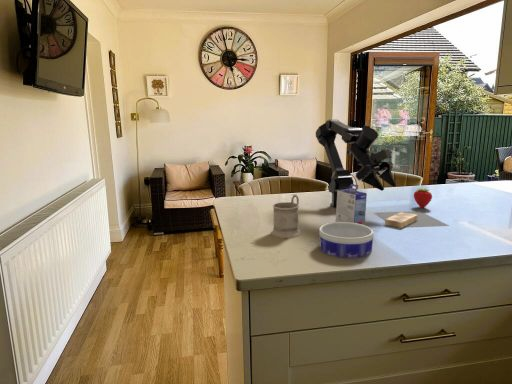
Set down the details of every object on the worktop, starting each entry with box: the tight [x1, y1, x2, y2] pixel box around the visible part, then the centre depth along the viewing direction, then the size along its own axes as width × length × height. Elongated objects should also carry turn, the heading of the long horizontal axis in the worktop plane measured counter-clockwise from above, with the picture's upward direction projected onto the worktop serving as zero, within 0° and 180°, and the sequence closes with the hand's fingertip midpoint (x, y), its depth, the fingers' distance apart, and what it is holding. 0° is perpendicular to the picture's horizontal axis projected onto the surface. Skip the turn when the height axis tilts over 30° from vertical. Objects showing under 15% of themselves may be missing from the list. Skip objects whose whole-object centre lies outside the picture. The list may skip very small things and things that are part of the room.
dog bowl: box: [318, 221, 374, 259], centre depth 105 cm, size 15×15×6 cm
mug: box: [270, 193, 302, 239], centre depth 121 cm, size 14×10×12 cm
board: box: [384, 211, 418, 229], centre depth 128 cm, size 6×2×13 cm
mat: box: [373, 210, 450, 229], centre depth 133 cm, size 19×20×1 cm
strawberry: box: [413, 186, 433, 209], centre depth 147 cm, size 6×8×10 cm
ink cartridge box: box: [335, 183, 368, 226], centre depth 127 cm, size 10×6×14 cm, turn 27°
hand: (389, 188), depth 130 cm, fingers open, 9 cm apart
